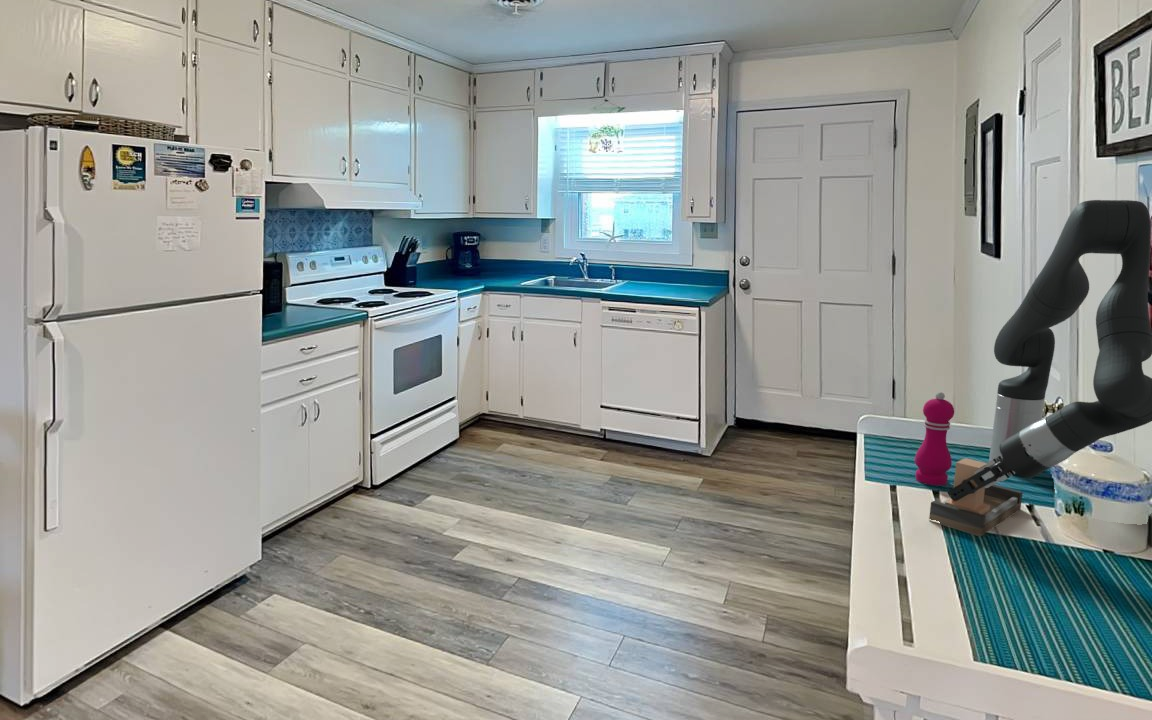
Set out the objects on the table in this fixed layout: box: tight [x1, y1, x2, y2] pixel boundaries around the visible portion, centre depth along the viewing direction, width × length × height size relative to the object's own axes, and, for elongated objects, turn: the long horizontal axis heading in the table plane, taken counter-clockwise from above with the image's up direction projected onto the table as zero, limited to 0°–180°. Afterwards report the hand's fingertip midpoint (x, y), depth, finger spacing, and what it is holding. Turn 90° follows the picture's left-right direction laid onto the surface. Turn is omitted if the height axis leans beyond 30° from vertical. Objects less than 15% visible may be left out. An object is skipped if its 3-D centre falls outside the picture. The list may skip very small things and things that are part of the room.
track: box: [928, 484, 1024, 538], centre depth 134 cm, size 20×9×4 cm, turn 130°
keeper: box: [945, 457, 990, 515], centre depth 130 cm, size 5×6×10 cm
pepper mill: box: [914, 391, 955, 486], centre depth 152 cm, size 7×7×20 cm
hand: (959, 492), depth 132 cm, fingers open, 6 cm apart
